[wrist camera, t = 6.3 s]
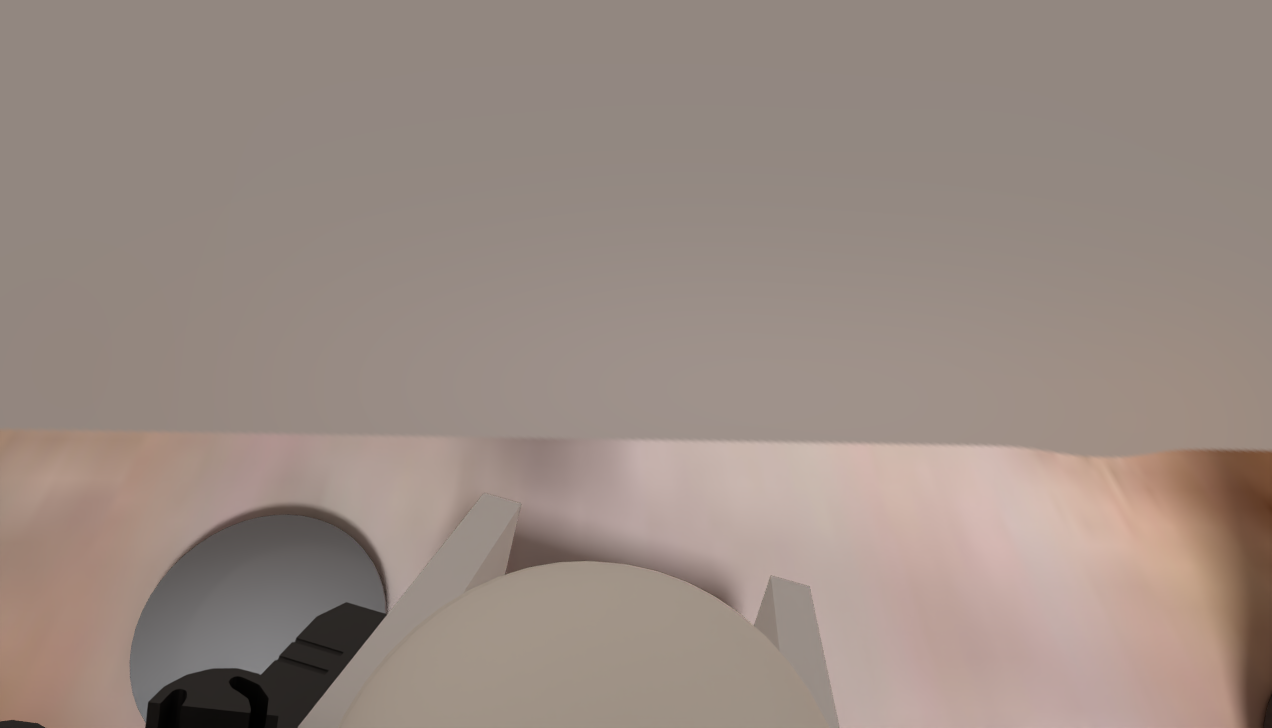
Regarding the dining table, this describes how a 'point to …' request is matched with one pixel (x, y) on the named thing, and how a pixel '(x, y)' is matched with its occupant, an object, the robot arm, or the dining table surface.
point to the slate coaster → (247, 599)
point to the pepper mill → (584, 659)
